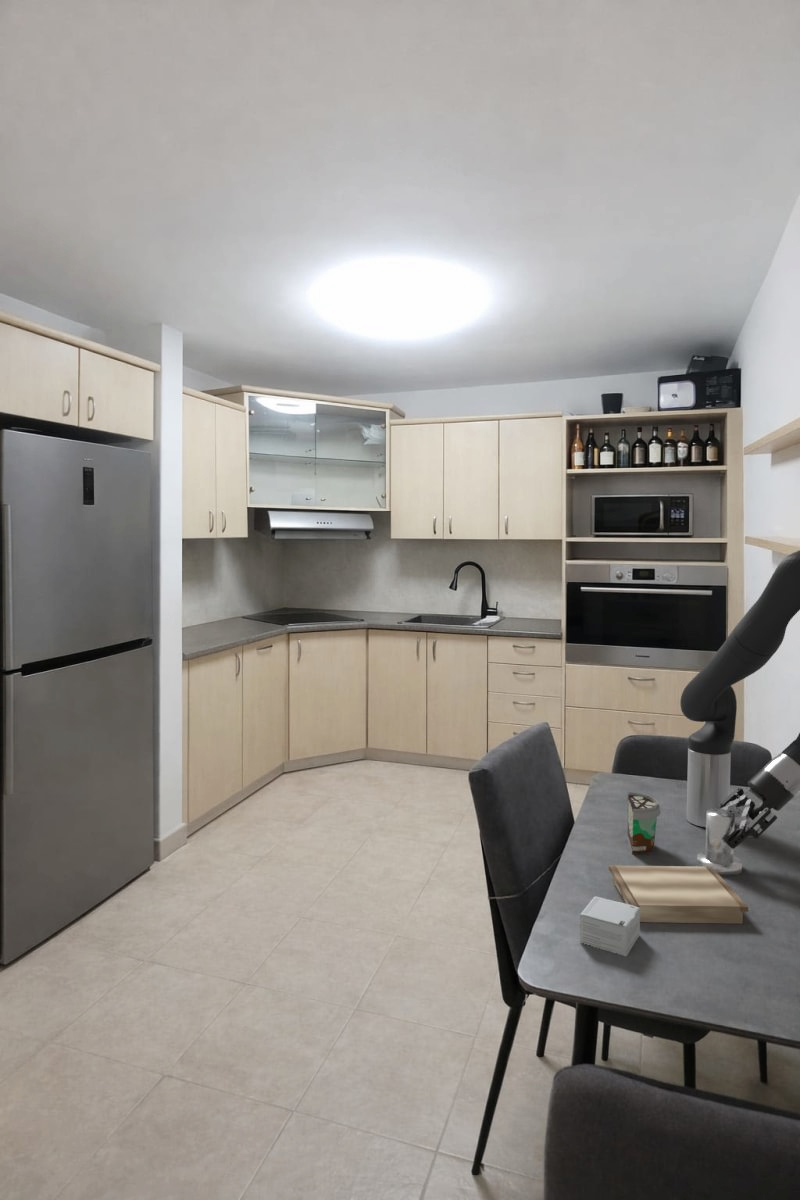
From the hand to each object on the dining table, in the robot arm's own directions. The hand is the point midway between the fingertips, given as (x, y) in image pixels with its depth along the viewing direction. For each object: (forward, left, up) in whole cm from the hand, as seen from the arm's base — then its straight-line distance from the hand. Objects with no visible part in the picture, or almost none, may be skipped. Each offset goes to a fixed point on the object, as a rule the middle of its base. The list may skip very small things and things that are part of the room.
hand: (719, 836), depth 149 cm
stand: (+15, -14, -6) cm, 21 cm away
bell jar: (0, 0, -6) cm, 6 cm away
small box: (+29, -29, -7) cm, 41 cm away
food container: (-10, -12, -6) cm, 17 cm away
